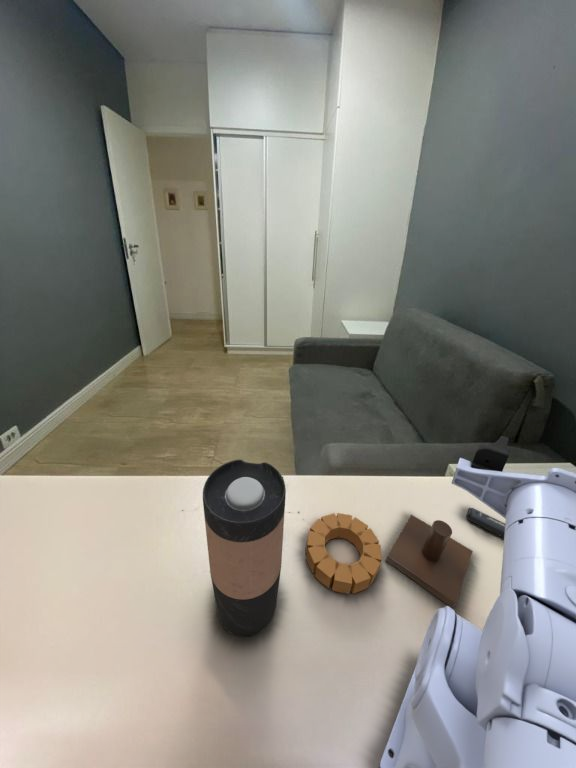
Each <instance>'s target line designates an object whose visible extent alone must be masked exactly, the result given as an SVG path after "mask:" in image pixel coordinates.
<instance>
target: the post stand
mask: <svg viewBox="0 0 576 768" xmlns="http://www.w3.org/2000/svg"><path fill="white" fill-rule="evenodd" d="M452 535H453V529H452V527H451V526H450V525H449V524H448V523H447V522H446V521H443V520H440V519H437V520H434V521H433V522H432V525H430V524H428V523H426V521H425V522H424V520H422V519H420V518H418V517H416V516H414V515H413V514H410V515H409V517H408V519H407V520H406V522H405V524H404V526H403V527H402V528H401V531H400V532H399V534H398V536H397V537H396V539H395V541H394V542H393V544H392V545H391V548H390V550H389V551H388V553H387V554H386V557H385V562H387V563H388V564H390V565H391V566H393V567H394V568H395V569H397V570H398V571H400V572H401V573H402V574H404V575H405V576H407V578H410V579H411V580H412V581H414V582H415V583H417V584H418V585H419V586H420V587H422V588H424V590H426V591H428V592H429V593H431V594H432V595H433V596H435V597H436V598H438V599H439V600H441V601H442V602H443V603H445V604H446V605H447V606H449V607H450V608H451V609H454V607H455V606H456V603H457V601H458V597H459V595H460V592H461V589H462V587H463V583H464V579H465V576H466V573H467V570H468V567H469V563H470V561H471V559H472V555H473V553H474V552H473V550H472V549H470V548H469V547H467V546H465V545H463V544H461V543H460V542H459V541H456V540H455V539H454V538H452Z"/></svg>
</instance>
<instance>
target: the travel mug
mask: <svg viewBox="0 0 576 768" xmlns="http://www.w3.org/2000/svg"><path fill="white" fill-rule="evenodd" d="M286 488H287V487H286V482H285V479H284V477H283V476H282V474H281V472H280V471H279V470H278V469H277V468H276V467H274V466H273V465H272V464H270V463H268V462H265V461H263V462H261V463H255V462H254V463H253V462H247V461H245V460H243V459H234V460H230V461H228V462H225V463H223V464H222V465H219V466H218V467H217V468H216V469H214V470H213V471H212V472H211V473H210V474H209V475H208V477H207V478H206V481H205V482H204V484H203V488H202V502H203V503H202V506H203V515H204V524H205V525H204V526H205V532H206V533H205V534H206V544H207V553H208V554H207V555H208V563H209V572H210V578H211V584H212V590H213V595H214V601H215V602H214V603H215V607H216V612H217V616H218V619H219V622H220V624H221V625H222V626H223V628H224V629H225V630H226V631H228V633H230V634H231V635H233V636H236V637H241V638H249V637H253V636H255V635H258V634H259V633H261V632H262V631H263V630H264V629H265V628H266V627H267V626H268V625H269V624H270V623H271V621H272V619H273V617H274V615H275V611H276V608H277V602H278V595H279V587H280V580H281V570H282V563H283V562H282V561H283V547H284V546H283V544H284V543H283V542H284V529H285V528H284V527H285V526H284V525H285V513H286V512H285V511H286V493H287V490H286Z"/></svg>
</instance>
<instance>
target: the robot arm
mask: <svg viewBox="0 0 576 768" xmlns="http://www.w3.org/2000/svg"><path fill="white" fill-rule="evenodd" d="M508 443H509V437H507V436H503V435H500V436H499V439H497V441H495V442H493V443H491V444H488V445H487V444H486V445H485V444H481V445H480V446H479V447H478V448H477V449H476V451H475V452H474V456H473V458H472V461H470V460H468V459H466V458H463V457H459V459H458V461H457V466H456V468H455V471H454V474H453V477H452V480H451V485H454V486H456V487H458V488H461V489H462V490H464V491H466V492H468V493H469V494H470V495H472V496H473V497H475V498H476V499H477V500H479V501H480V502H482V504H484V505H486V506H487V507H489V508H490V510H492V511H494V512H495V513H497V514H498V515H500V516H501V517H502V518H504V519H505V522H504V523H505V534H504V538H503V548H502V559H501V561H502V562H501V575H500V586H499V588H500V589H499V595H498V597H497V598H496V600H495V602H494V603H493V606H492V608H491V609H490V612H489V614H488V616H487V618H486V620H485V623H484V626H483V629H481V628H479V627H478V626H476V625H475V624H474V623H472V622H470V621H468V620H467V619H466V618H463V617H462V616H460V615H459V614H457V613H456V611H455V610H454V608H452V607H450V606H449V605H446V606H444V607H440V608H437V609H436V610H435V612H434V613H433V616H432V618H431V620H430V621H429V625H428V626H427V629H426V632H425V635H424V637H423V639H422V640H423V641H422V643H421V647H420V650H419V653H418V657H417V660H416V665H415V667H414V670H413V672H412V675H411V678H410V681H409V683H408V686H407V689H406V691H405V694H404V697H403V698H402V699H403V700H402V702H401V705H400V707H399V710H398V713H397V716H396V719H395V721H394V724H393V726H392V729H391V732H390V734H389V737H388V740H387V742H386V745H385V748H384V751H383V754H382V757H381V758H380V762H379V768H576V473H575V472H573V471H569V470H566V469H563V468H560V467H553V468H550V469H549V471H548V473H547V474H545V475H540V474H528V473H519V472H509V471H504V468H505V466H506V464H507V461H508V458H509V456H510V453H509V452H508V448H507V447H508ZM389 751H391V753H392V755H393V756H392V757H391V756H390V755H389V754H390V753H389Z"/></svg>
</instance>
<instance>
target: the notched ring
mask: <svg viewBox="0 0 576 768" xmlns="http://www.w3.org/2000/svg"><path fill="white" fill-rule="evenodd" d="M368 527H369V525H368V524H366V523H365V522H363V521H362V520H360V519H359V518H357V517H356V516H354V517H353V515H350V514H345V513H340V512H337V513H336V514H335V512H333V513H330V514H326V515H322V516H321V517H320V518H318V519H317V520H316V521H315V522H314V523H313V524H312V525H311V526H310V528H309V531H308V534H307V542H306V550H305V557H306V558H305V559H306V562H307V564H308V566H309V569H310V572H311V573H312V574H314V578H316V579H317V581H319V582H320V583H321V584H322V585H324V586H325V587H326V588H327V589H330V588H331V591H333V592H337V593H341V594H346V595H350V594H351V593H352V594H353V595H354V594H356V593H359V592H363V591H364V590H367V589H368V588H369V586H372V584H373V582H374V580H375V578H376V577H377V576H378V573H379V570H380V568H381V565H382V558H383V557H382V548H381V544H379V543H380V541H379V539H378V537H377V536H376V535H375V533H374V531H373V530H372V528H371V527H370V528H368ZM336 538H339V539H343V540H348V541H349V542H350V543H352V544H353V545H354V546H355V548H356V550H357V551H358V553H359V559H358V560H357V561H354V562H352V563H350V564H349V563H343V562H339V561H338V560H336V559H335V558H333V557H332V556H331V555H330V554H329V552H328V550H327V547H326V544H327V543H328V542H329V541H330V540H333V539H336ZM350 592H351V593H350Z"/></svg>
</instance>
